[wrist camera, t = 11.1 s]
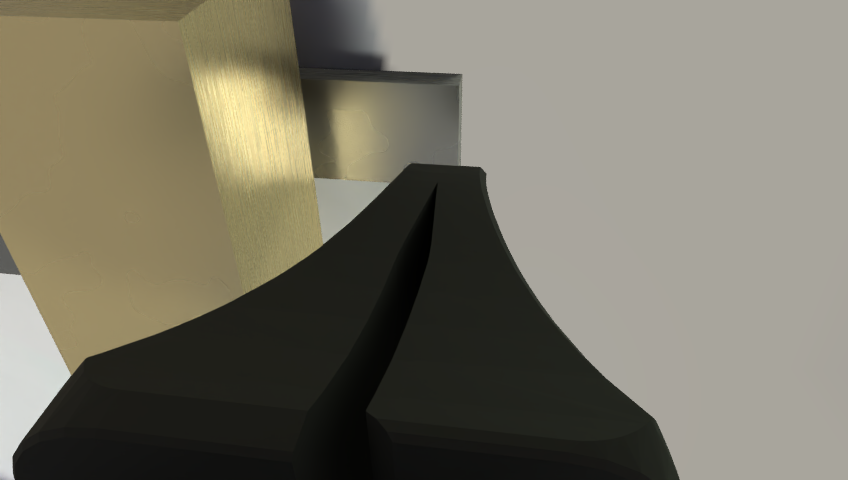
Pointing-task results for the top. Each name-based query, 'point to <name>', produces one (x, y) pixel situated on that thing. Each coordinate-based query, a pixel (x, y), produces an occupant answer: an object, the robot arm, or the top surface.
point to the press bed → (370, 125)
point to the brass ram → (150, 160)
